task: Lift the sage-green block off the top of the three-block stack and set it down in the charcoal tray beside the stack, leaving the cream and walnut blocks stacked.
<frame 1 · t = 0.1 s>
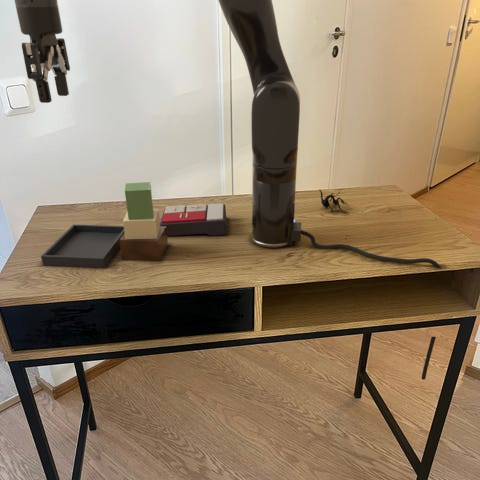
hand: (55, 98, 102), 29 cm above the table, tool pointing down, fingers open, 8 cm apart
walnut block: (145, 252, 108), on the table, touching cream block
creature: (334, 210, 129), on the table
cream block: (143, 232, 106), point 4 cm above the table, touching green block, walnut block
tray: (88, 249, 110), on the table
green block: (141, 214, 104), point 8 cm above the table, touching cream block
calculator: (194, 227, 120), on the table
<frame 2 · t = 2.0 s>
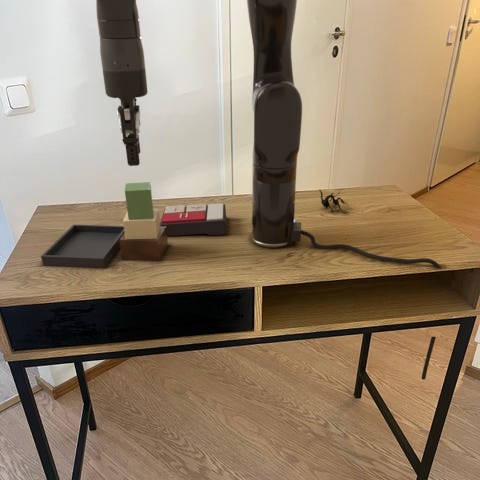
hand: (134, 159, 98), 20 cm above the table, tool pointing down, fingers open, 8 cm apart
nothing on the table moved.
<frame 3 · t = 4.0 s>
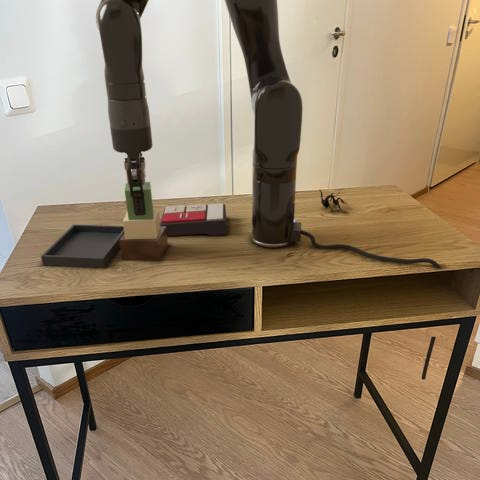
hand: (140, 209, 103), 10 cm above the table, tool pointing down, fingers closed on green block, 5 cm apart
green block: (141, 214, 104), point 8 cm above the table, touching cream block, gripper
everything else where it was.
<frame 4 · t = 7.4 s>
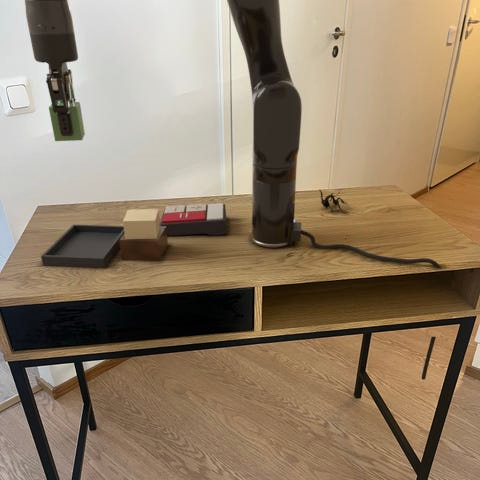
hand: (69, 131, 96), 25 cm above the table, tool pointing down, fingers closed on green block, 5 cm apart
cream block: (143, 232, 106), point 4 cm above the table, touching walnut block
green block: (70, 137, 97), point 24 cm above the table, touching gripper
everything else where it was.
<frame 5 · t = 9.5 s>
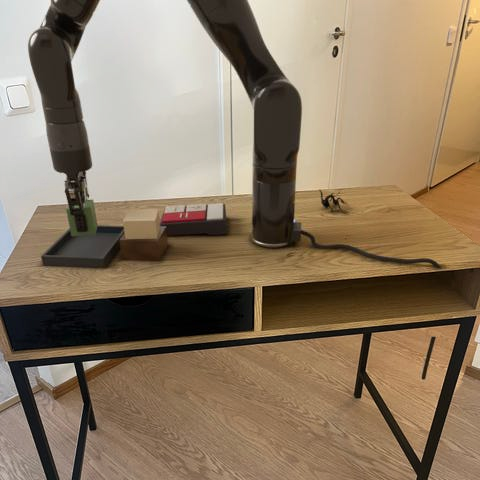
hand: (84, 226, 107), 5 cm above the table, tool pointing down, fingers closed on green block, 5 cm apart
green block: (84, 230, 108), point 4 cm above the table, touching gripper
everything else where it was.
when the fingers open (2 cm above the table, at t = 11.1 s): green block stays where it is, resting on tray.
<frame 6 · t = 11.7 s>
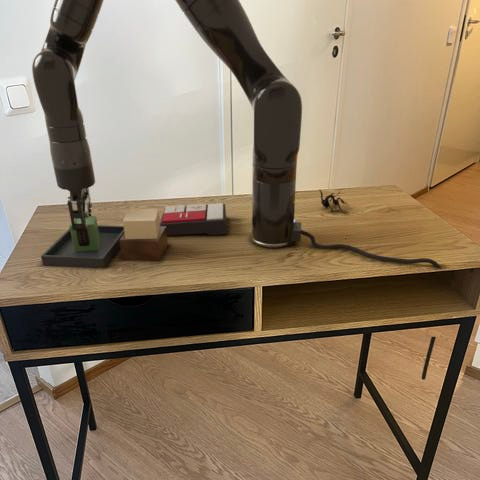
hand: (86, 237, 108), 3 cm above the table, tool pointing down, fingers open, 8 cm apart
green block: (87, 246, 110), point 1 cm above the table, touching tray
everything else where it was.
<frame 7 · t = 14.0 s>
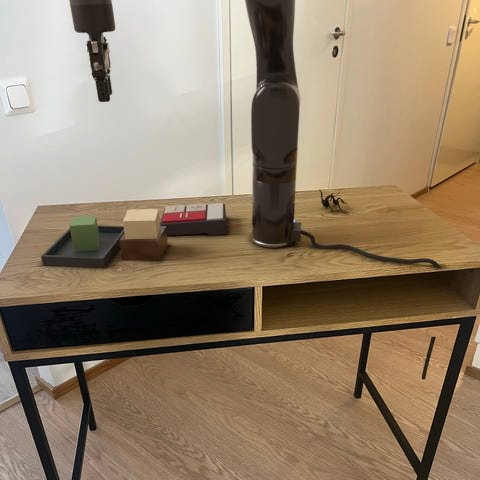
hand: (106, 98, 100), 30 cm above the table, tool pointing down, fingers open, 8 cm apart
nothing on the table moved.
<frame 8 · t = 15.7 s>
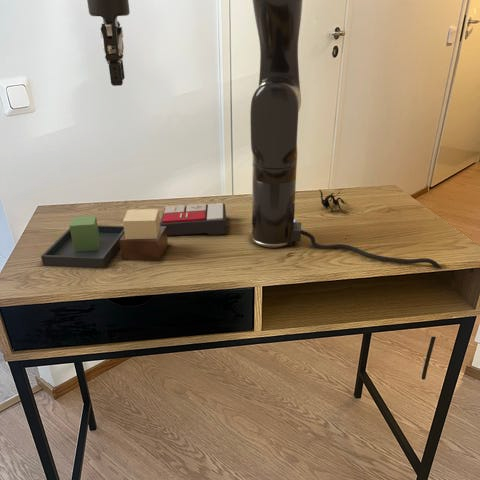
hand: (118, 82, 101), 32 cm above the table, tool pointing down, fingers open, 8 cm apart
nothing on the table moved.
at the end: green block inside the target area in the tray (0.1 cm from its centre), point 0.6 cm above the tray's base; green block tilted 0°; cream block 0.0 cm off-centre on the walnut block, point 4.5 cm above the walnut block's base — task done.
